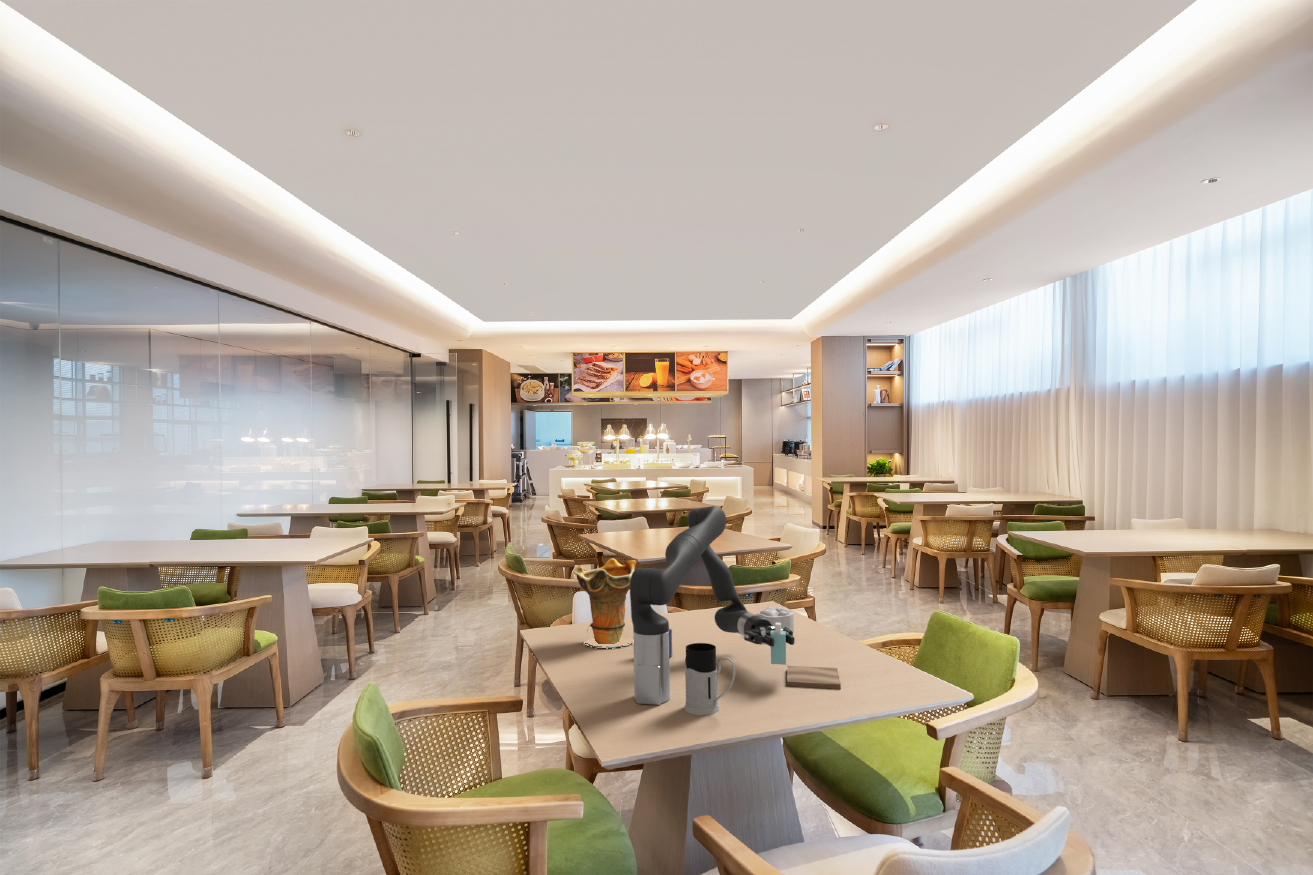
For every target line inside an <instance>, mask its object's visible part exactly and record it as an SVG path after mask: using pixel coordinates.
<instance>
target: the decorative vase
mask: <svg viewBox="0 0 1313 875" xmlns="http://www.w3.org/2000/svg"><path fill="white" fill-rule="evenodd" d="M636 565H637V560H633V559H630V560H626V561H625V564H621V563H619V562H618V560H617V559H615V558H613V557H612V558H609V559H608V560H607V561H606V562H605V564H604V565H603V566H601V567H599V568H592V569H587V570H584V567H583V566H576V567H575V568H574V570H573V574H574V575H575V576H576V579H577V581H578V584H579V586H580V587H581V589H583V591H585V593H586V594H587V595H588V596H589V597H588V598H589V604H590V613H591V619H592V622H591V623H590V624H589V626H588V628H589V627H591V629H592V633H593V636H594V639H595V641H596V642H597V643H598V644H615V643H617V642H619V641H620V638H621V636H622V634H623V632H624V630H625V629H624V627H625V626H626V623H625V617H626V600H627V594H628V592H630V580H631V576H632V573H633V572H634V571H635V570H636ZM588 630H589V629H587V631H586V632H588ZM585 644H588V643H585ZM626 644H629V643H626ZM588 645H589V646H592V647H602V646H593V645H590V644H588ZM623 645H625V644H623ZM623 645H620V646H623ZM620 646H613V647H620ZM592 647H591V648H592ZM606 647H612V646H606Z"/></svg>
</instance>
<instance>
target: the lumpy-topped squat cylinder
mask: <svg viewBox="0 0 1313 875" xmlns="http://www.w3.org/2000/svg"><path fill="white" fill-rule="evenodd" d="M756 615H758V616H761V617H763V618H765V619H767V620H769V621H770V623H771V624H772V626H774V627H775V623H776V622H777V623H781V629H782V630H783V627H787V628H789V629H790V630H791V631H793V633H794V634H795V628H794V627H795V624H794V620H795V619H794V618H795V617H794V612H793V611H792V610H790V609H788V608H784V607H781V606H779V607H776V608H774V607H772V606H768V607H766V608H765V609H762V610H760V611H757V612H756Z"/></svg>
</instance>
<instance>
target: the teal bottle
mask: <svg viewBox="0 0 1313 875" xmlns="http://www.w3.org/2000/svg"><path fill="white" fill-rule="evenodd" d="M771 637H772V638H773V639H774V647H771V646H770V664H771V665H785V666H786V665H787V643H786V631H781V623H777V622H776V623H775V631H772V630H771Z"/></svg>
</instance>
